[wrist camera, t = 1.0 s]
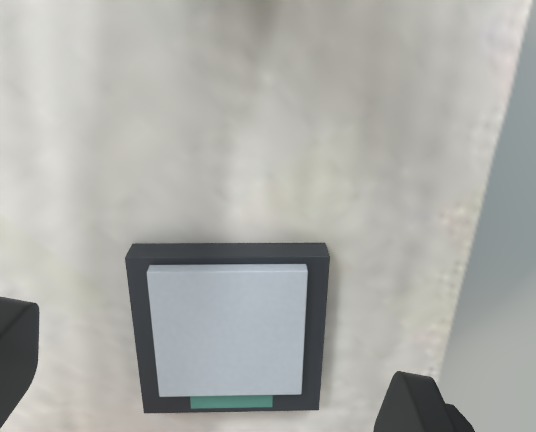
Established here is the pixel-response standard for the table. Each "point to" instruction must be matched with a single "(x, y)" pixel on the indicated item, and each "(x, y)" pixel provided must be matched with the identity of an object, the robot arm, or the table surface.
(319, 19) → the table surface
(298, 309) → the scale
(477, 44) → the table surface
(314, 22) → the table surface
